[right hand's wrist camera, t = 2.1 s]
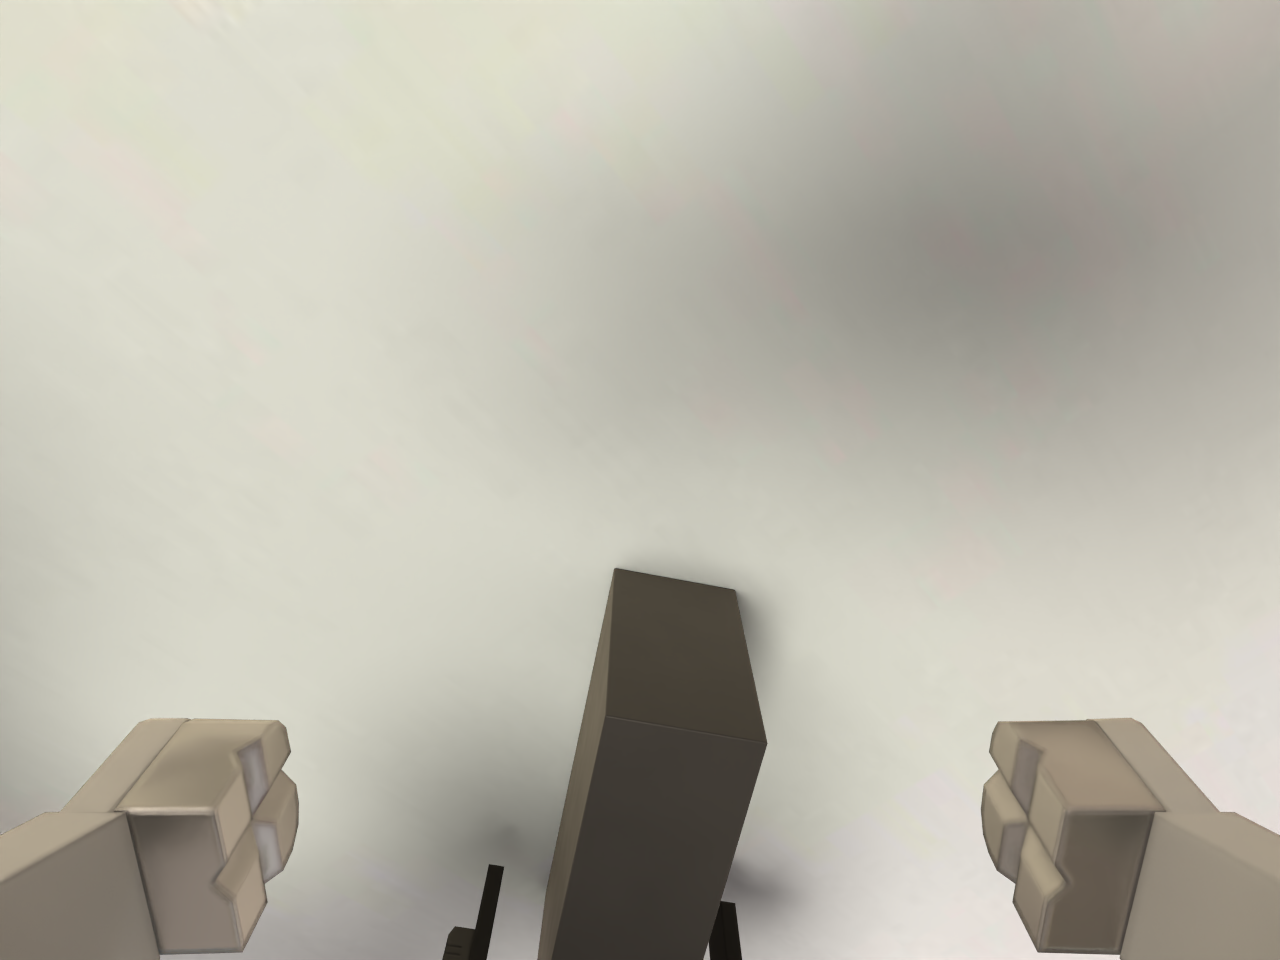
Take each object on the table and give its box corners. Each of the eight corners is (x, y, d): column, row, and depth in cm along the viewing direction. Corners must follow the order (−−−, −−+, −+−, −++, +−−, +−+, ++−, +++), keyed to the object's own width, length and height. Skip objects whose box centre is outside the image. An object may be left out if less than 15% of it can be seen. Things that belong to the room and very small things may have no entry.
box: (614, 567, 43) (605, 715, 32) (735, 589, 44) (767, 742, 33) (545, 892, 50) (518, 1107, 39) (650, 908, 51) (653, 1127, 39)
